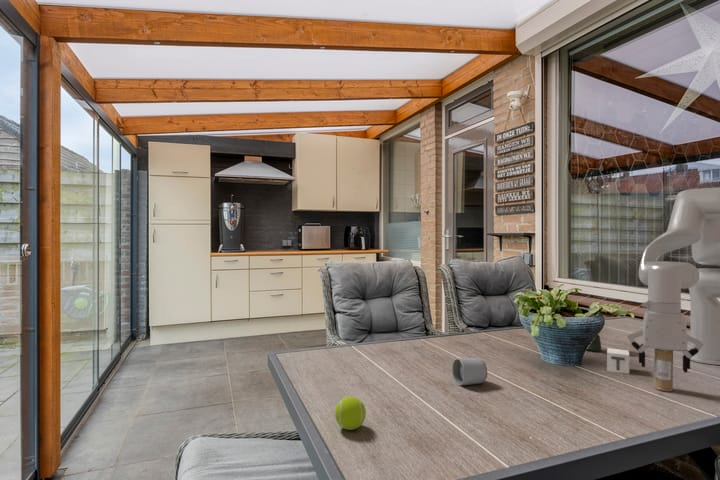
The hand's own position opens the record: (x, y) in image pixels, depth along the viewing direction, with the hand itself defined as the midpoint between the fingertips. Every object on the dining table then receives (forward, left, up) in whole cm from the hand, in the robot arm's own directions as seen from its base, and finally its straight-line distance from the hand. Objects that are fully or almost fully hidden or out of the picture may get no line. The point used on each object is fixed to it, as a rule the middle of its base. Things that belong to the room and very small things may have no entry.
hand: (663, 368), depth 120 cm
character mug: (-16, -37, -6) cm, 41 cm away
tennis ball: (+90, -10, -6) cm, 91 cm away
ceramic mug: (+48, -26, -6) cm, 55 cm away
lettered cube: (-4, -17, -6) cm, 18 cm away
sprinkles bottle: (0, 0, -6) cm, 6 cm away
